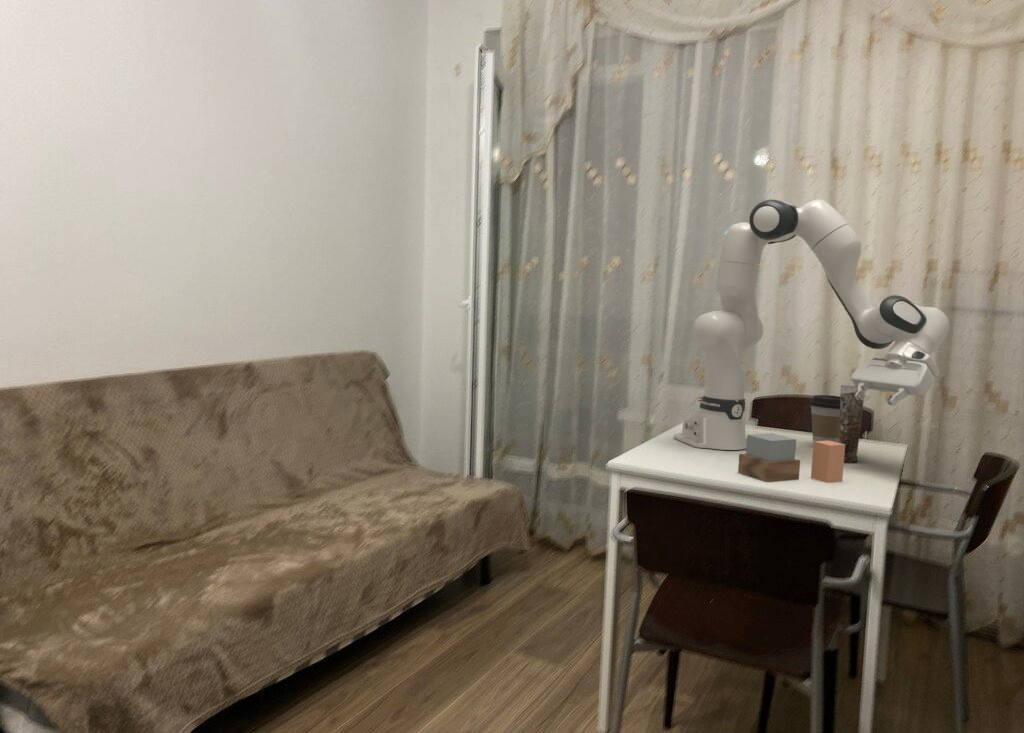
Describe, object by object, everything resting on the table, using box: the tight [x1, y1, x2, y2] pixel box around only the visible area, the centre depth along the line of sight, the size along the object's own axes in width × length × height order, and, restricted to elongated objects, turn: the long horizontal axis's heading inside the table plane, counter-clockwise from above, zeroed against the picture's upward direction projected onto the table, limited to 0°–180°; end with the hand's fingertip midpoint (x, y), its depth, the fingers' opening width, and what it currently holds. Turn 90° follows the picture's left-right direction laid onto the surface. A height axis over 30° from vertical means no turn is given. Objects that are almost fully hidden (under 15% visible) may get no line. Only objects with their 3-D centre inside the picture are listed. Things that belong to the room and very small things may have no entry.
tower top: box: [745, 432, 797, 462], centre depth 192 cm, size 8×8×5 cm
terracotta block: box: [810, 441, 845, 484], centre depth 191 cm, size 5×5×9 cm
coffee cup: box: [808, 394, 840, 444], centre depth 233 cm, size 11×11×15 cm
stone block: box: [839, 384, 866, 463], centre depth 217 cm, size 13×7×20 cm, turn 162°
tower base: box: [737, 453, 801, 483], centre depth 193 cm, size 10×10×5 cm
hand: (873, 400), depth 196 cm, fingers open, 8 cm apart
